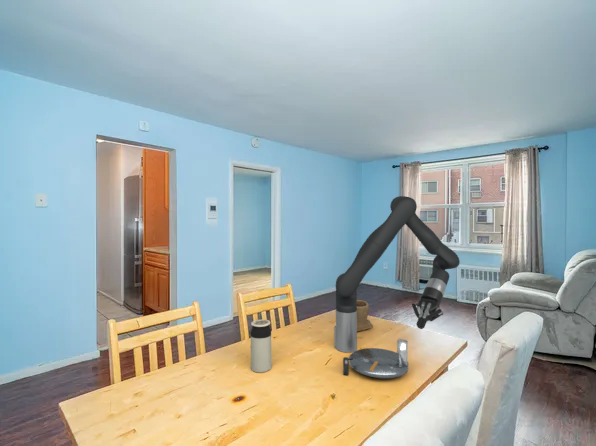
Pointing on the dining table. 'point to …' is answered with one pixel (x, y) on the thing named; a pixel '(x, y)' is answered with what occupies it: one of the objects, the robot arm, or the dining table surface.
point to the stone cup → (363, 316)
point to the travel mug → (261, 346)
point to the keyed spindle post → (346, 365)
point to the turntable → (381, 361)
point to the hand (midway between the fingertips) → (419, 327)
